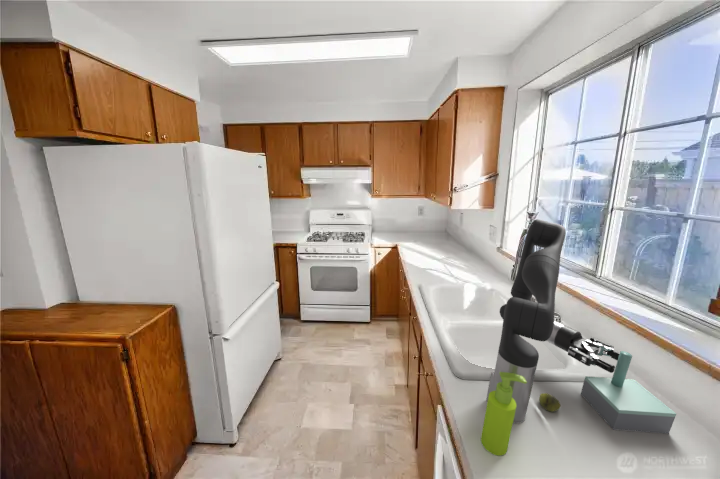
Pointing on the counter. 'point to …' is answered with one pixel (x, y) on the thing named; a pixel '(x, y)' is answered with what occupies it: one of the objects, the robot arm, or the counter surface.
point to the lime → (549, 402)
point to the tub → (625, 415)
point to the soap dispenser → (500, 415)
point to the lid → (628, 392)
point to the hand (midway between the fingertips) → (621, 365)
